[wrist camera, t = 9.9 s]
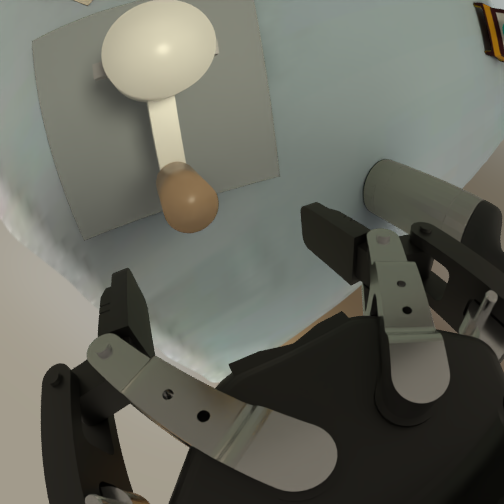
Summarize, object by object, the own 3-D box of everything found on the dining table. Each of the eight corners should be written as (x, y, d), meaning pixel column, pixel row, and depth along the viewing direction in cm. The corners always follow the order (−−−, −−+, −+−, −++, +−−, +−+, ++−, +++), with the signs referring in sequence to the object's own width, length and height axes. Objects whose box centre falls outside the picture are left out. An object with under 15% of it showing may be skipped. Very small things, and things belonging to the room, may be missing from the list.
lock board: (246, -6, 18) (267, -23, 14) (273, 173, 30) (297, 185, 26) (36, 44, 13) (18, 32, 8) (86, 234, 25) (78, 258, 21)
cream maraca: (94, 39, 13) (75, 4, 6) (205, 18, 15) (240, -20, 9) (127, 208, 21) (125, 254, 15) (226, 181, 23) (266, 212, 17)
